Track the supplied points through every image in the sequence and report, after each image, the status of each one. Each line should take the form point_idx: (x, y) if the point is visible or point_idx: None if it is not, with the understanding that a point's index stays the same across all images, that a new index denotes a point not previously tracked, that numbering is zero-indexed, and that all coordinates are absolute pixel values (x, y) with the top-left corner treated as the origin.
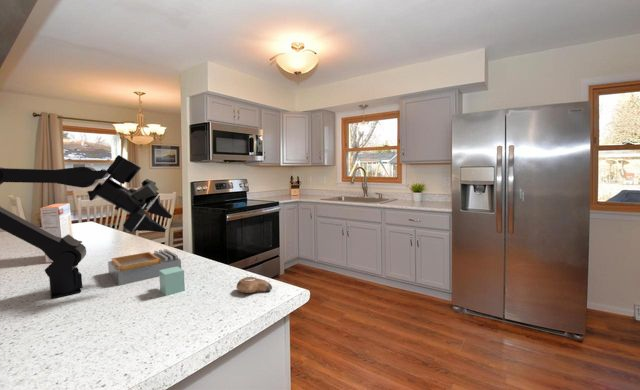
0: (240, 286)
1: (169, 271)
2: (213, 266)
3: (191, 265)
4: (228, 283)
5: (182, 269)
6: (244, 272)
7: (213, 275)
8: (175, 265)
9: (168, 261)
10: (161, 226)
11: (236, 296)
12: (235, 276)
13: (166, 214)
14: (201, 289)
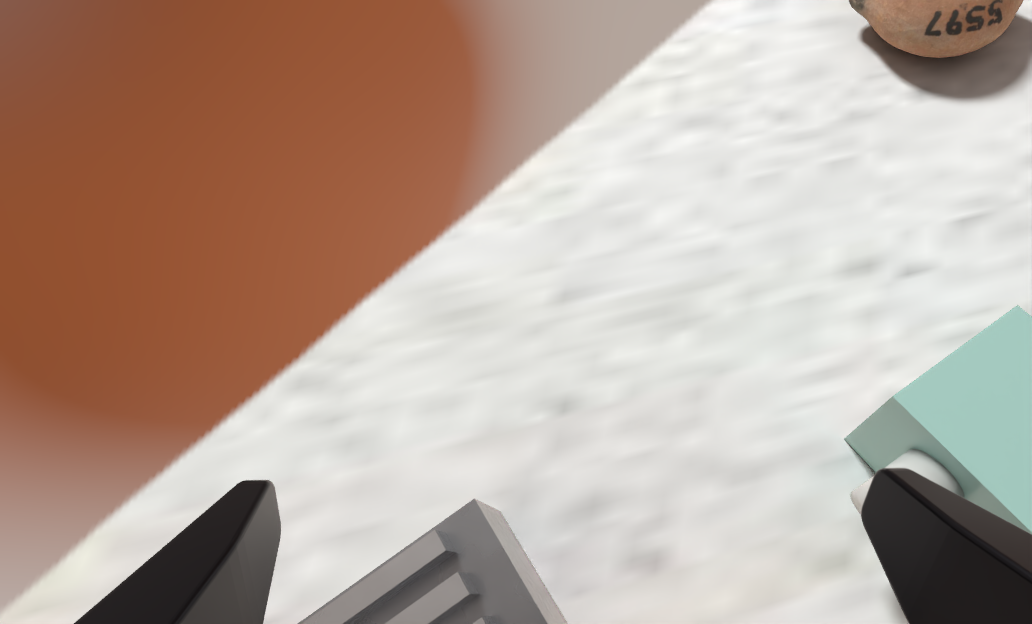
0: (1012, 11)
1: None
2: (439, 305)
3: (369, 469)
4: (801, 144)
5: (991, 324)
6: (606, 104)
7: (636, 261)
8: (509, 545)
9: (509, 604)
10: (988, 522)
11: (1023, 62)
12: (674, 135)
13: (235, 606)
14: (912, 268)
